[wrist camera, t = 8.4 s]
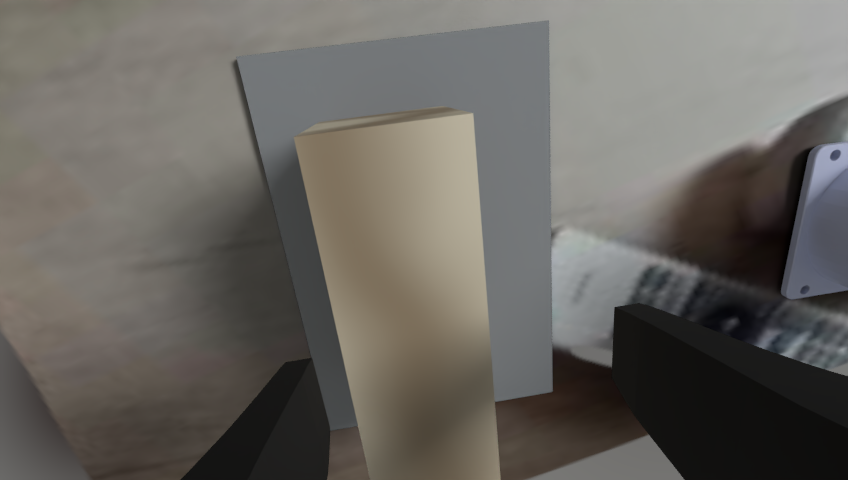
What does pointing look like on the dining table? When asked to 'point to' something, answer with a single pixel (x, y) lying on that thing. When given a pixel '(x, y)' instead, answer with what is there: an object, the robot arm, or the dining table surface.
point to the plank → (407, 287)
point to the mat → (496, 163)
